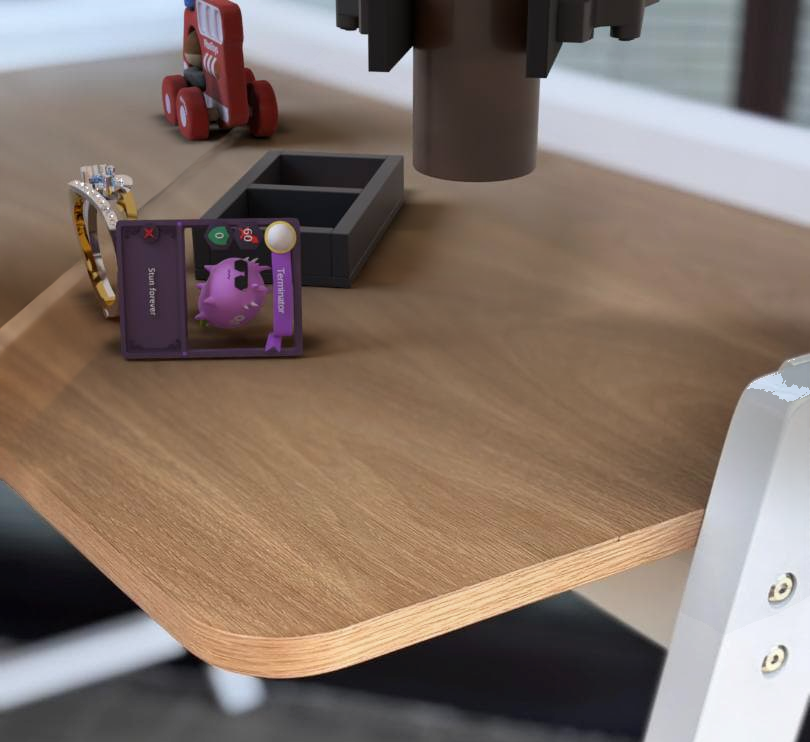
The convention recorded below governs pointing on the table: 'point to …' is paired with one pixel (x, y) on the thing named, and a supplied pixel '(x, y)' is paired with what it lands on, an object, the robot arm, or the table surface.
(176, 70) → the table surface
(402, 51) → the robot arm
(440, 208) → the table surface
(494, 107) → the brown wooden cylinder
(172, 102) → the toy fire truck
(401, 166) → the grid
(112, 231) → the ring
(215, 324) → the game card
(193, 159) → the table surface
